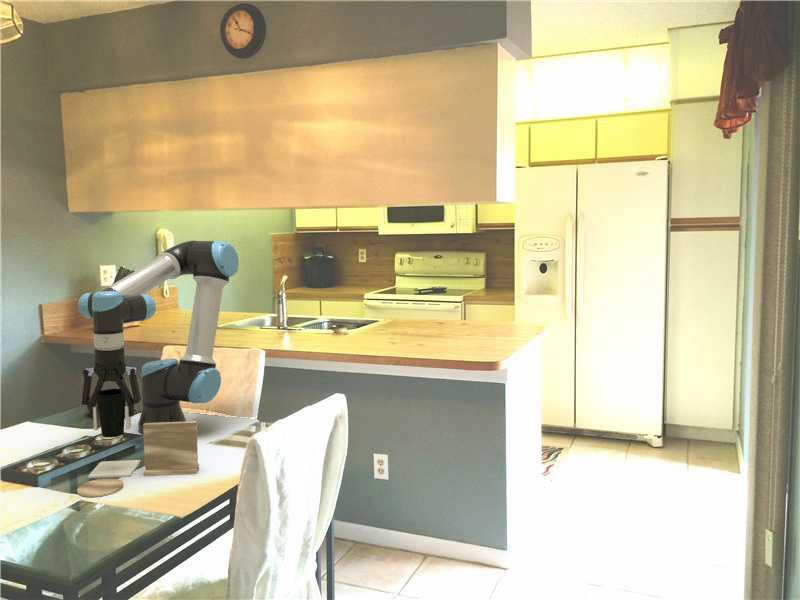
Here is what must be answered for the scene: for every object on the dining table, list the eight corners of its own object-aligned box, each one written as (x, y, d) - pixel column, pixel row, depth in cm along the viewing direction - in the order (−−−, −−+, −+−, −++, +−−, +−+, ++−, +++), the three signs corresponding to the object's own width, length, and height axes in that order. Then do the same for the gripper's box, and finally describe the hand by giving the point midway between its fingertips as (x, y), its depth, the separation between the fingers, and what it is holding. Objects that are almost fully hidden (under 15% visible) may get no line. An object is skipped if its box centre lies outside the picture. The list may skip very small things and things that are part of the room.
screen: (148, 469, 185) (146, 421, 183) (199, 466, 187) (197, 419, 185) (143, 475, 180) (141, 426, 178) (196, 473, 182) (194, 424, 180)
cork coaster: (85, 481, 176) (85, 479, 176) (128, 479, 178) (128, 477, 178) (71, 498, 165) (70, 496, 165) (116, 496, 167) (116, 493, 167)
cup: (116, 439, 178) (114, 396, 177) (91, 437, 180) (89, 394, 178) (133, 430, 186) (131, 389, 184) (109, 428, 187) (107, 387, 186)
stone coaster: (100, 463, 189) (100, 461, 189) (140, 461, 190) (140, 459, 190) (88, 478, 178) (87, 476, 178) (130, 476, 180) (130, 474, 180)
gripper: (64, 351, 175) (69, 433, 178) (144, 349, 178) (147, 431, 180) (74, 345, 182) (78, 425, 185) (151, 344, 185) (154, 423, 188)
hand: (112, 428), depth 183 cm, fingers closed on cup, 8 cm apart
